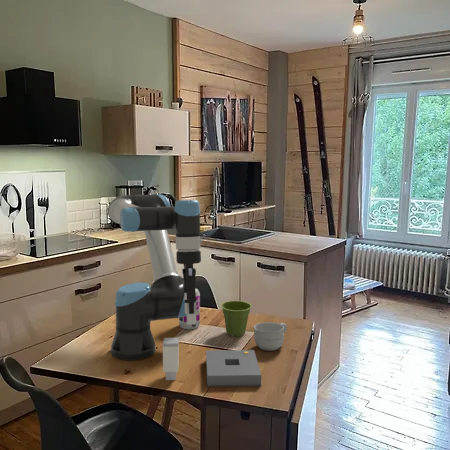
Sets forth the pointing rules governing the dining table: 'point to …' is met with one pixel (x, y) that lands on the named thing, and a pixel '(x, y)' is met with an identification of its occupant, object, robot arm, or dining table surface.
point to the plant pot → (236, 316)
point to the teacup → (269, 335)
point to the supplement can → (192, 326)
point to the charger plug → (170, 357)
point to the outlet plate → (232, 368)
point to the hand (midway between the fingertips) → (190, 318)
